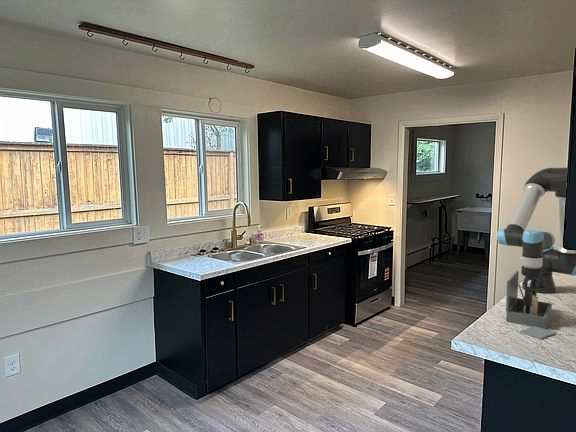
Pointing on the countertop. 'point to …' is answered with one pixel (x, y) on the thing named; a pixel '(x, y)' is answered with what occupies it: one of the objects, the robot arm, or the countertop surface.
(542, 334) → the mat
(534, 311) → the candle
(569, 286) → the countertop surface
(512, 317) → the case
